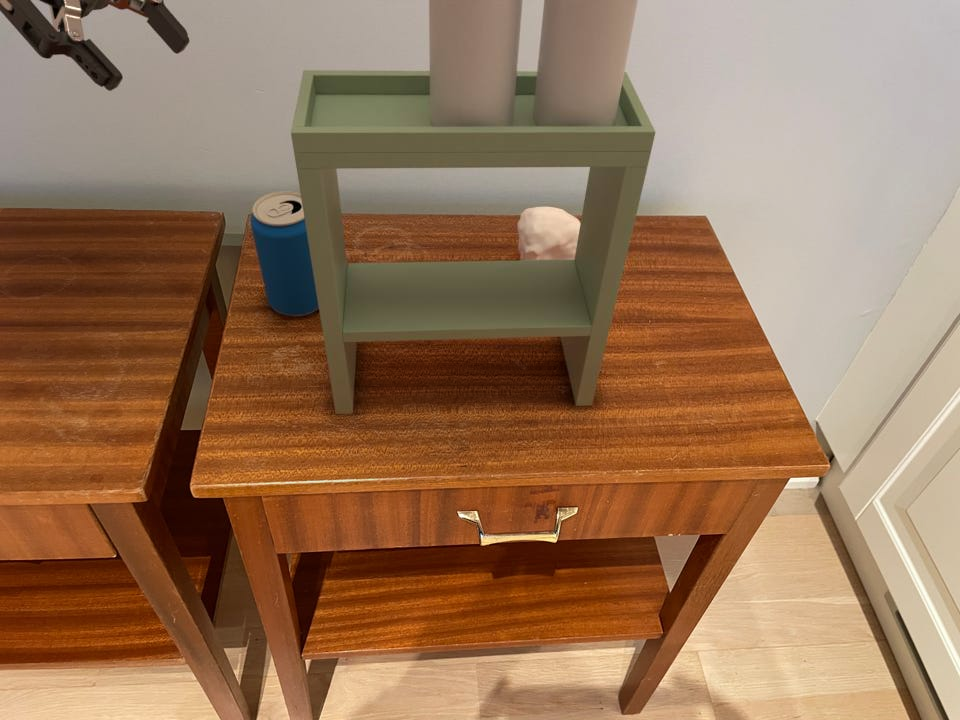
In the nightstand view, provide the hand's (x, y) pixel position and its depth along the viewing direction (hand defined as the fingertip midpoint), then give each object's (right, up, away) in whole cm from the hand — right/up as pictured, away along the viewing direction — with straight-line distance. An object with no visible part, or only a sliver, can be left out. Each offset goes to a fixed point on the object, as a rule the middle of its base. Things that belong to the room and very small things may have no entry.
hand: (152, 65), depth 65 cm
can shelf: (+29, -10, -11) cm, 32 cm away
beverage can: (+10, -20, +14) cm, 26 cm away
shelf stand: (+28, -28, +7) cm, 40 cm away
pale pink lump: (+39, -16, +19) cm, 47 cm away
